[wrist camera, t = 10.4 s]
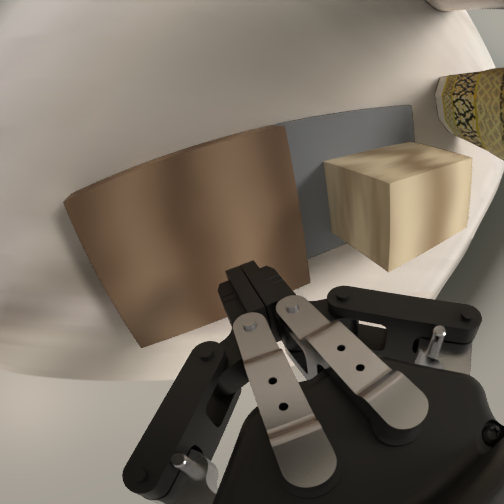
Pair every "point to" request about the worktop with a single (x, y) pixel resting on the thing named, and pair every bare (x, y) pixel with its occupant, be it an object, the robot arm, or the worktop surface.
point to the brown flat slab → (191, 229)
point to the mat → (334, 146)
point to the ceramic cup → (474, 108)
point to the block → (398, 200)
